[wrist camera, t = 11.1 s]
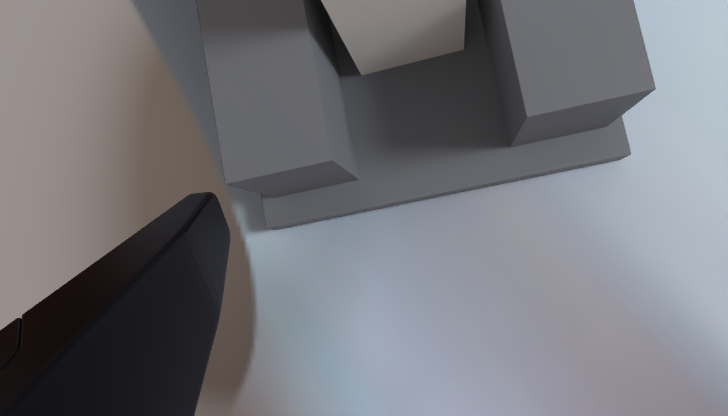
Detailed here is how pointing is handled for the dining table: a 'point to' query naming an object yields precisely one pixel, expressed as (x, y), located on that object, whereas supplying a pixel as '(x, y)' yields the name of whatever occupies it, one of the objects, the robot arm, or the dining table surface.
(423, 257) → the dining table surface
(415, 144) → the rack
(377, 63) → the grey block
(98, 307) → the robot arm
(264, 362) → the dining table surface
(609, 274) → the dining table surface
